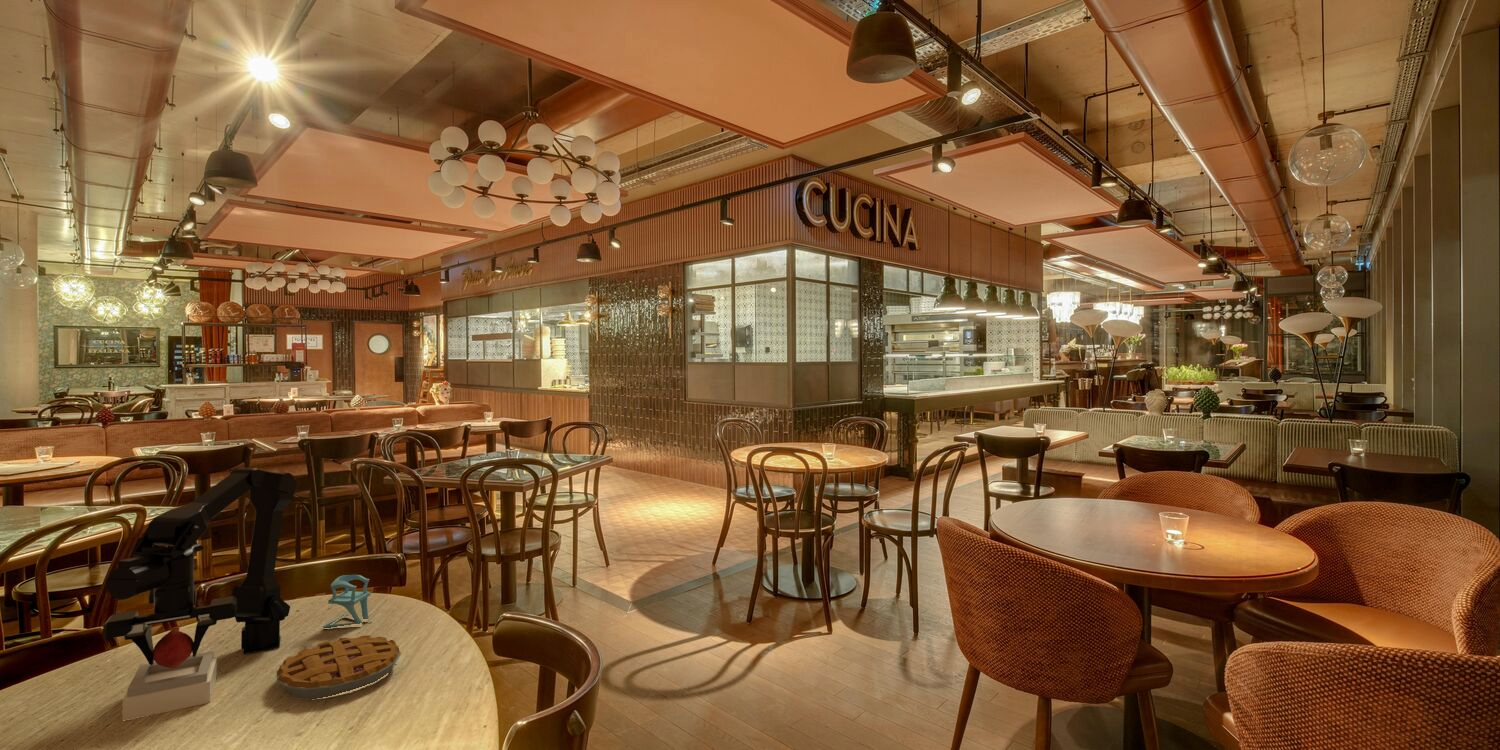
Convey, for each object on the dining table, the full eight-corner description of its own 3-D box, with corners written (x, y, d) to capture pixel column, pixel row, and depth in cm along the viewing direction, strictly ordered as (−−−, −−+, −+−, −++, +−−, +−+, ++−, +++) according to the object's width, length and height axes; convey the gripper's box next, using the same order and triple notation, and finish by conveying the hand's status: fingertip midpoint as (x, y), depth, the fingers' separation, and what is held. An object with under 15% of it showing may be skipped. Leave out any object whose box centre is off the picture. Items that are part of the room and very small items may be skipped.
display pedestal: (216, 676, 130) (217, 649, 130) (209, 702, 121) (210, 673, 121) (136, 692, 123) (137, 664, 123) (122, 721, 114) (122, 691, 114)
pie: (415, 677, 133) (416, 653, 132) (289, 718, 117) (289, 691, 116) (381, 644, 147) (381, 622, 147) (264, 676, 131) (265, 652, 131)
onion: (168, 677, 119) (169, 635, 118) (144, 673, 120) (144, 632, 120) (201, 663, 124) (201, 623, 124) (177, 659, 125) (178, 620, 125)
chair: (356, 631, 153) (357, 582, 153) (322, 630, 154) (323, 581, 153) (375, 618, 161) (376, 572, 161) (342, 617, 161) (344, 570, 161)
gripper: (239, 560, 134) (239, 633, 134) (116, 576, 123) (116, 655, 123) (235, 576, 125) (234, 654, 125) (102, 594, 114) (101, 680, 114)
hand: (173, 660), depth 122 cm, fingers closed on onion, 6 cm apart
